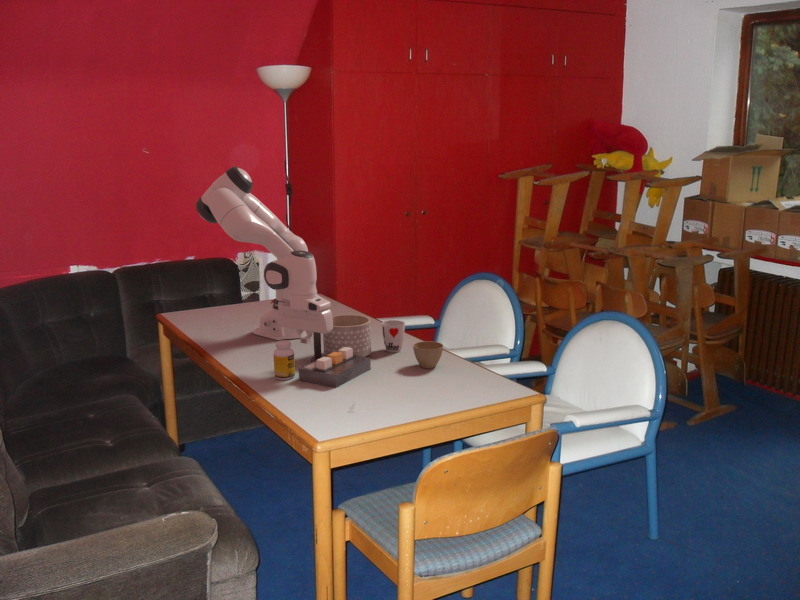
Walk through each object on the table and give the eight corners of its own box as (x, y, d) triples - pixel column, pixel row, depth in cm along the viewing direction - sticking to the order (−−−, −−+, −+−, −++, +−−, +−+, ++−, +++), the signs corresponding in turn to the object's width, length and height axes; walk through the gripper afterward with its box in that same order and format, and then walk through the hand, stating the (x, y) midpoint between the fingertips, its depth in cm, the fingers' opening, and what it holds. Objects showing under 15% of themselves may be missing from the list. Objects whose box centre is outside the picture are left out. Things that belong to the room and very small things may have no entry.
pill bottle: (286, 381, 236) (284, 346, 233) (270, 378, 239) (268, 343, 237) (299, 376, 241) (297, 341, 239) (283, 372, 245) (282, 338, 242)
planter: (380, 356, 261) (379, 321, 258) (340, 366, 251) (339, 329, 248) (354, 346, 273) (353, 312, 270) (314, 354, 264) (313, 319, 261)
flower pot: (433, 372, 243) (433, 351, 242) (407, 367, 249) (407, 346, 247) (448, 364, 252) (448, 343, 250) (423, 359, 257) (422, 339, 255)
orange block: (327, 363, 240) (327, 354, 240) (334, 359, 244) (334, 351, 243) (335, 364, 239) (335, 356, 238) (342, 361, 242) (342, 352, 242)
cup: (378, 351, 266) (377, 324, 264) (389, 345, 273) (388, 319, 271) (398, 354, 262) (398, 327, 260) (409, 348, 269) (408, 321, 267)
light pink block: (316, 368, 235) (316, 360, 235) (324, 365, 239) (323, 356, 238) (324, 370, 234) (324, 361, 233) (331, 366, 237) (331, 357, 236)
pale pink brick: (338, 358, 245) (338, 350, 245) (345, 355, 249) (345, 346, 248) (346, 359, 244) (345, 351, 243) (352, 356, 247) (352, 348, 247)
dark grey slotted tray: (299, 380, 237) (298, 367, 236) (335, 363, 254) (334, 350, 253) (336, 387, 230) (335, 374, 229) (370, 369, 247) (370, 356, 246)
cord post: (307, 362, 255) (305, 316, 251) (316, 358, 259) (314, 313, 255) (319, 364, 252) (318, 318, 249) (328, 360, 257) (326, 315, 253)
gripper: (272, 300, 245) (274, 341, 248) (323, 306, 235) (324, 349, 238) (284, 296, 250) (286, 336, 253) (335, 302, 240) (336, 344, 243)
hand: (305, 342), depth 245 cm, fingers closed
